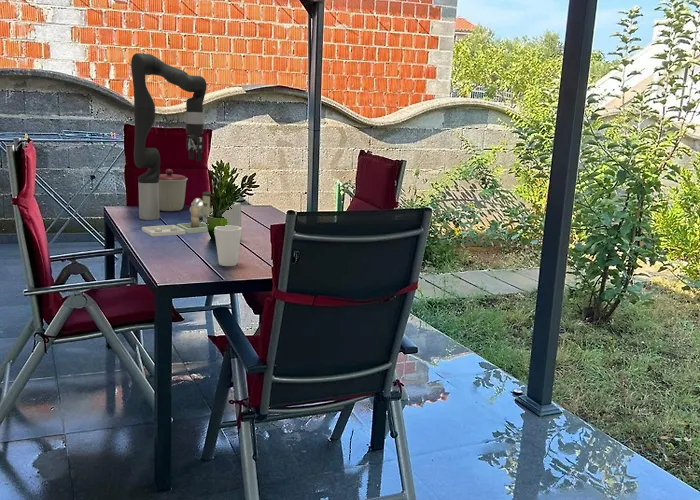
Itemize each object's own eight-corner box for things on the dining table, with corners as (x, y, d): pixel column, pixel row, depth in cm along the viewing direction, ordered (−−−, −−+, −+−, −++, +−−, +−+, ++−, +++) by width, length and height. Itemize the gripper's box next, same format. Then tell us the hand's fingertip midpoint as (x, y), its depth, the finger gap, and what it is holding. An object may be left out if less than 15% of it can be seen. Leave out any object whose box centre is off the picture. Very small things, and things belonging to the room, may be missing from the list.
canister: (160, 206, 349) (159, 166, 344) (193, 208, 346) (192, 168, 342) (145, 211, 331) (144, 169, 326) (179, 214, 329) (179, 171, 324)
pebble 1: (153, 234, 273) (153, 227, 273) (160, 233, 275) (160, 226, 274) (156, 235, 271) (155, 228, 270) (163, 234, 273) (163, 227, 272)
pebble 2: (169, 233, 277) (168, 226, 276) (175, 232, 279) (175, 225, 278) (171, 234, 274) (171, 227, 274) (178, 233, 276) (178, 226, 275)
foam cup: (216, 260, 238) (216, 225, 235) (242, 260, 239) (242, 225, 236) (213, 266, 229) (213, 230, 226) (240, 267, 230) (240, 230, 227)
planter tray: (176, 230, 288) (176, 223, 287) (203, 228, 294) (202, 222, 294) (186, 235, 278) (186, 228, 277) (213, 233, 285) (213, 226, 284)
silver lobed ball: (192, 216, 324) (192, 196, 321) (211, 217, 323) (211, 197, 321) (187, 219, 315) (187, 198, 313) (207, 220, 314) (207, 199, 312)
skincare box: (242, 239, 275) (242, 202, 271) (234, 242, 268) (234, 204, 265) (224, 237, 277) (224, 201, 274) (216, 240, 271) (216, 203, 268)
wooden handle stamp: (185, 229, 287) (185, 205, 284) (199, 228, 290) (198, 205, 288) (190, 231, 282) (190, 208, 280) (204, 230, 285) (204, 207, 283)
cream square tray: (141, 232, 280) (141, 227, 279) (173, 230, 288) (173, 224, 287) (152, 238, 269) (152, 233, 268) (185, 236, 277) (185, 230, 276)
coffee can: (228, 221, 314) (228, 192, 311) (219, 225, 305) (219, 194, 302) (207, 219, 316) (207, 190, 313) (198, 223, 307) (198, 193, 303)
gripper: (209, 123, 284) (209, 161, 287) (196, 122, 295) (197, 158, 299) (192, 123, 280) (192, 161, 283) (180, 121, 291) (181, 158, 294)
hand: (195, 160), depth 291 cm, fingers open, 8 cm apart
